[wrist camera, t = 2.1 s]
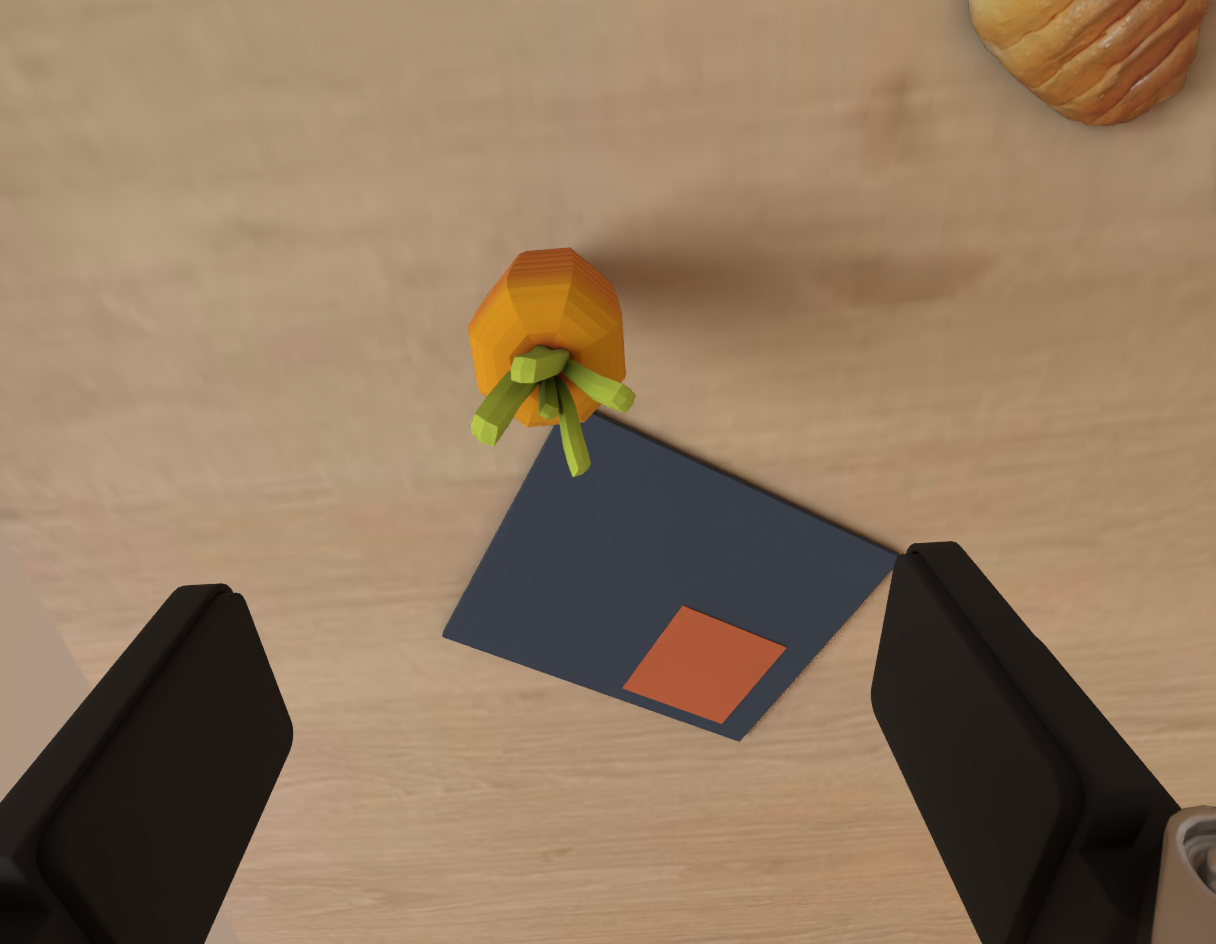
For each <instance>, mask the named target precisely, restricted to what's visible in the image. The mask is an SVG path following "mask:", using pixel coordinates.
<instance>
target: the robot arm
mask: <svg viewBox="0 0 1216 944" xmlns="http://www.w3.org/2000/svg"><path fill="white" fill-rule="evenodd" d="M871 702H872V707H873V711H874V714H875V716H876V719H877V721H878V723H879V725H880V727H881V729H882V731H883V733H884V736H885V738H886V740H887V742H888V744H889V746H890V748H891V751H892V753H893V755H894V757H895V759H896V761H897V763H898V765H899V768H900V770H901V772H902V774H903V776H904V778H905V780H906V783H907V785H908V787H909V789H910V791H911V793H912V795H913V798H914V800H915V802H916V804H917V806H918V808H919V810H920V812H921V815H922V817H923V819H924V821H925V823H926V825H927V827H928V830H929V832H930V834H931V836H932V838H933V840H934V842H935V844H936V847H937V849H938V851H939V853H940V855H941V857H942V859H943V862H944V864H945V866H946V868H947V870H948V872H949V874H950V876H951V879H952V881H953V883H954V885H955V887H956V889H957V891H958V894H959V896H960V898H961V900H962V902H963V904H964V906H965V908H966V911H967V913H968V915H969V917H970V919H971V921H972V923H973V926H974V928H975V930H976V932H977V934H978V936H979V938H980V940H981V942H982V944H1216V807H1214V806H1206V805H1202V806H1195V807H1188V808H1183V809H1181V808H1180V806H1179V805H1178V804H1177V803H1176V802H1175V800H1174V799H1173V798H1172V797H1171V796H1170V794H1169V793H1168V792H1167V791H1166V790H1165V788H1164V787H1163V786H1162V785H1161V784H1160V782H1159V781H1158V780H1157V779H1156V778H1155V776H1154V775H1153V774H1152V773H1151V772H1150V770H1149V769H1148V768H1147V767H1146V766H1145V764H1144V763H1143V762H1142V761H1141V760H1140V758H1139V757H1138V756H1137V755H1136V754H1135V752H1134V751H1133V750H1132V749H1131V748H1130V746H1129V745H1128V744H1127V743H1126V742H1125V741H1124V739H1123V738H1122V737H1121V736H1120V735H1119V733H1118V732H1117V731H1116V730H1115V729H1114V727H1113V726H1112V725H1111V724H1110V723H1109V721H1108V720H1107V719H1106V718H1105V717H1104V715H1103V714H1102V713H1101V712H1100V711H1099V709H1098V708H1097V707H1096V706H1095V705H1094V703H1093V702H1092V701H1091V700H1090V699H1089V697H1088V696H1087V695H1086V694H1085V693H1084V691H1083V690H1082V689H1081V688H1080V687H1079V685H1078V684H1077V683H1076V682H1075V681H1074V679H1073V678H1072V677H1071V676H1070V675H1069V673H1068V672H1067V671H1066V670H1065V669H1064V667H1063V666H1062V665H1061V664H1060V663H1059V661H1058V660H1057V659H1056V658H1055V657H1054V655H1053V654H1052V653H1051V652H1050V651H1049V649H1048V648H1047V647H1046V646H1045V645H1044V644H1043V642H1041V641H1040V640H1039V639H1038V638H1037V637H1036V636H1035V635H1034V634H1033V633H1032V632H1031V630H1030V629H1029V628H1028V627H1027V626H1026V624H1025V623H1024V622H1023V621H1022V619H1021V618H1020V617H1019V616H1018V615H1017V613H1016V612H1015V611H1014V610H1013V609H1012V607H1011V606H1010V605H1009V604H1008V603H1007V601H1006V600H1005V599H1004V598H1003V597H1002V595H1001V594H1000V593H999V592H998V591H997V589H996V588H995V587H994V586H993V585H992V583H991V582H990V581H989V580H988V579H987V577H986V576H985V575H984V574H983V573H982V571H981V570H980V569H979V568H978V567H977V565H976V564H975V563H974V562H973V561H972V559H971V558H970V557H969V556H968V555H967V553H966V552H965V551H964V550H963V549H962V547H961V546H960V545H958V544H957V543H956V542H952V541H948V542H930V543H914V544H912V545H910V547H909V548H908V550H907V553H906V554H901V555H898V556H897V558H896V560H895V563H894V569H893V574H892V579H891V585H890V590H889V595H888V601H887V606H886V612H885V617H884V622H883V628H882V633H881V638H880V644H879V649H878V655H877V660H876V665H875V671H874V676H873V681H872V687H871ZM292 741H293V726H292V722H291V719H290V716H289V714H288V711H287V709H286V706H285V703H284V701H283V698H282V695H281V693H280V690H279V688H278V685H277V682H276V680H275V677H274V674H273V672H272V669H271V667H270V664H269V661H268V659H267V656H266V653H265V651H264V648H263V646H262V643H261V640H260V638H259V635H258V632H257V630H256V627H255V625H254V622H253V619H252V617H251V614H250V611H249V609H248V606H247V604H246V601H245V599H244V597H243V596H242V595H241V594H239V593H233V591H232V589H231V588H230V587H229V586H228V585H226V584H222V583H221V584H203V585H186V586H181V587H178V588H177V589H176V590H175V591H174V592H173V593H172V594H171V595H170V596H169V598H168V599H167V600H166V601H165V602H164V604H163V605H162V606H161V607H160V609H159V610H158V611H157V612H156V613H155V615H154V616H153V617H152V618H151V620H150V621H149V622H148V623H147V624H146V626H145V627H144V628H143V629H142V631H141V632H140V633H139V634H138V635H137V637H136V638H135V639H134V640H133V642H132V643H131V644H130V645H129V646H128V648H127V649H126V650H125V651H124V652H123V654H122V655H121V656H120V657H119V659H118V660H117V661H116V662H115V663H114V665H113V666H112V667H111V668H110V670H109V671H108V672H107V673H106V674H105V676H104V677H103V678H102V679H101V681H100V682H99V683H98V684H97V685H96V687H95V688H94V689H93V690H92V692H91V693H90V694H89V695H88V696H87V698H86V699H85V700H84V701H83V702H82V704H81V705H80V706H79V707H78V709H77V710H76V711H75V712H74V713H73V715H72V716H71V717H70V718H69V720H68V721H67V722H66V723H65V725H64V726H63V727H62V728H61V729H60V731H59V732H58V733H57V734H56V736H55V737H54V738H53V739H52V740H51V742H50V743H49V744H48V745H47V747H46V748H45V749H44V750H43V751H42V753H41V754H40V755H39V756H38V757H37V759H36V760H35V761H34V762H33V764H32V765H31V766H30V767H29V768H28V770H27V771H26V772H25V773H24V774H23V776H22V777H21V778H20V779H19V781H18V782H17V783H16V784H15V785H14V787H13V788H12V789H11V790H10V792H9V793H8V794H7V795H6V796H5V798H4V799H3V800H2V801H1V803H0V944H204V943H205V941H206V938H207V936H208V934H209V932H210V929H211V927H212V925H213V923H214V920H215V918H216V916H217V913H218V911H219V909H220V907H221V905H222V902H223V900H224V898H225V896H226V893H227V891H228V889H229V887H230V884H231V882H232V880H233V878H234V875H235V873H236V871H237V869H238V866H239V864H240V862H241V860H242V857H243V855H244V853H245V851H246V848H247V846H248V844H249V842H250V840H251V837H252V835H253V833H254V831H255V828H256V826H257V824H258V822H259V819H260V817H261V815H262V813H263V810H264V808H265V806H266V804H267V801H268V799H269V797H270V795H271V792H272V790H273V788H274V786H275V783H276V781H277V779H278V777H279V774H280V772H281V770H282V768H283V765H284V763H285V761H286V759H287V756H288V754H289V752H290V749H291V746H292Z"/></svg>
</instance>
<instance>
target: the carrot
mask: <svg viewBox="0 0 1216 944" xmlns="http://www.w3.org/2000/svg"><path fill="white" fill-rule="evenodd" d="M468 333H469V339H470V344H471V350H472V356H473V361H474V367H475V373H476V379H477V384H478V390H479V392H480V393H481V394H483V395H484V396H485V397H486V399H485V400H484V401H483V403H482V404H481V406H480V407H479V409H478V410H477V411H476V413H475V415H474V418H473V420H472V423H471V431H472V434H473V435H474V436H475V437H476V438H477V439H478V440H479V441H480V442H481V443H484V444H487V445H490V446H493V447H494V446H495V444H496V443H497V441H498V440H499V439H500V437H501V436H502V434H503V433H504V431H505V430H506V428H507V427H508V425H509V424H510V422H511V420H512V419H513V417H514V418H515V419H517V420H518V421H520V422H521V423H522V424H524V425H525V426H526V427H533V426H546V425H558V424H560V430H561V436H562V442H563V448H564V452H565V455H566V459H567V463H568V466H569V468H570V471H571V474H572V476H573V477H575V476H579V475H582V474H583V473H584V472H585V471H587V470H588V469H589V467H590V464H591V462H590V458H589V454H588V450H587V447H586V443H585V440H584V437H583V433H582V429H581V425H580V423H583V422H585V421H586V420H587V419H588V418H589V417H590V416H591V415H592V413H593V412H594V411H595V410H596V409H597V408H598V407H599V406H600V405H601V404H603V405H605V406H607V407H609V408H611V409H613V410H615V411H619V412H624V413H626V412H627V411H628V409H629V408H630V407H631V406H632V405H633V402H634V399H635V397H636V395H635V394H634V392H633V391H632V390H631V389H630V388H628V387H627V386H625V385H623V384H622V383H621V382H622V381H623V380H624V378H625V374H626V371H625V355H624V340H623V324H622V312H621V309H620V305H619V301H618V298H617V295H616V293H615V290H614V288H613V285H612V284H611V283H610V282H609V281H608V280H607V279H606V278H605V277H604V276H603V275H601V274H600V273H599V272H598V271H597V270H596V269H594V268H593V267H592V266H591V265H590V264H589V263H588V262H586V261H585V260H584V259H583V258H582V257H581V256H579V255H578V254H577V253H576V252H575V251H574V250H572V249H571V248H559V249H547V250H535V251H526V252H523V253H521V254H519V255H518V257H517V258H516V259H515V260H514V262H513V263H512V264H511V266H510V267H509V268H508V269H507V271H506V272H505V273H504V274H503V276H502V277H501V278H500V280H499V281H498V282H497V283H496V285H495V286H494V287H493V289H492V290H491V291H490V292H489V294H488V295H487V297H486V298H485V299H484V301H483V302H482V304H481V305H480V307H479V308H478V310H477V312H476V313H475V315H474V317H473V319H472V321H471V322H470V324H469V326H468Z"/></svg>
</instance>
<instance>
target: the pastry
mask: <svg viewBox="0 0 1216 944" xmlns="http://www.w3.org/2000/svg"><path fill="white" fill-rule="evenodd" d="M968 1H969V11H970V16H971V21H972V24H973V26H974V28H975V30H976V32H977V34H978V35H979V37H980V39H981V40H982V42H983V44H984V46H985V48H986V49H987V50H988V51H990V52H991V53H992V54H993V55H994V56H996V57H997V58H998V59H999V61H1000V62H1001V64H1002V65H1003V66H1004V67H1006V68H1007V69H1008V70H1009V72H1010V73H1011V74H1012V75H1013V76H1014V77H1015V78H1016V79H1017V80H1018V81H1019V82H1021V83H1022V84H1023V85H1024V86H1026V87H1027V88H1028V89H1029V90H1030V91H1032V92H1033V93H1034V94H1035V95H1037V96H1038V97H1039V98H1041V99H1042V100H1043V101H1044V102H1046V103H1047V104H1048V105H1050V106H1051V107H1052V108H1053V109H1054V110H1055V111H1057V112H1058V113H1060V114H1061V115H1062V116H1064V117H1066V118H1067V119H1070V120H1074V121H1078V122H1081V123H1083V124H1085V125H1087V126H1095V125H1106V126H1107V125H1115V124H1119V123H1125V122H1128V121H1131V120H1132V119H1134V118H1136V117H1138V116H1139V115H1141V114H1143V113H1144V112H1146V111H1148V110H1149V109H1150V108H1152V107H1153V106H1154V105H1156V104H1157V103H1159V102H1162V101H1165V100H1166V99H1168V98H1170V97H1172V96H1173V95H1175V94H1176V93H1177V92H1178V91H1179V90H1181V89H1182V87H1183V84H1184V82H1185V80H1186V77H1187V72H1188V69H1189V66H1190V65H1191V63H1192V61H1193V60H1194V59H1195V56H1196V52H1197V43H1198V37H1199V30H1200V24H1201V21H1202V19H1203V17H1204V16H1205V15H1206V12H1207V9H1208V3H1207V0H968Z"/></svg>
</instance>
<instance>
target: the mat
mask: <svg viewBox="0 0 1216 944" xmlns="http://www.w3.org/2000/svg"><path fill="white" fill-rule="evenodd" d="M580 425H581V429H582V433H583V437H584V440H585V443H586V447H587V450H588V454H589V458H590V462H591V464H590V467H589V469H588V470H587V471H585V472H584V473H583V474H582V475H579V476H575V477H573V476H572V474H571V471H570V468H569V466H568V463H567V459H566V455H565V452H564V448H563V442H562V436H561V430H560V424H558V425H554V427H553V429H552V431H551V432H550V434H549V436H548V438H547V440H546V442H545V444H544V445H543V447H542V449H541V451H540V453H539V455H538V457H537V458H536V460H535V462H534V464H533V466H532V468H531V470H530V471H529V473H528V475H527V477H526V479H525V481H524V483H523V484H522V486H521V488H520V490H519V492H518V494H517V496H516V497H515V499H514V501H513V503H512V505H511V507H510V509H509V510H508V512H507V514H506V516H505V518H504V520H503V521H502V523H501V525H500V527H499V529H498V531H497V533H496V534H495V536H494V538H493V540H492V542H491V544H490V546H489V547H488V549H487V551H486V553H485V555H484V557H483V559H482V560H481V562H480V564H479V566H478V568H477V570H476V572H475V573H474V575H473V577H472V579H471V581H470V583H469V585H468V586H467V588H466V590H465V592H464V594H463V596H462V598H461V599H460V601H459V603H458V605H457V607H456V609H455V611H454V612H453V614H452V616H451V618H450V620H449V622H448V624H447V625H446V627H445V629H444V631H443V635H442V637H444V638H447V639H450V640H453V641H456V642H458V643H461V644H464V645H467V646H470V647H473V648H475V649H478V650H481V651H484V652H487V653H490V654H492V655H495V656H498V657H501V658H504V659H507V660H509V661H512V662H515V663H518V664H521V665H524V666H526V667H529V668H532V669H535V670H538V671H541V672H543V673H546V674H549V675H552V676H555V677H558V678H560V679H563V680H566V681H569V682H572V683H575V684H577V685H580V686H583V687H586V688H589V689H592V690H594V691H597V692H600V693H603V694H606V695H609V696H611V697H614V698H617V699H620V700H623V701H626V702H628V703H631V704H634V705H637V706H640V707H643V708H645V709H648V710H651V711H654V712H657V713H660V714H662V715H665V716H668V717H671V718H674V719H677V720H679V721H682V722H685V723H688V724H691V725H694V726H696V727H699V728H702V729H705V730H708V731H711V732H713V733H716V734H719V735H722V736H725V737H728V738H730V739H733V740H736V741H741V740H742V738H743V737H744V736H745V735H746V734H747V733H748V732H749V730H750V729H751V728H752V727H753V726H754V725H755V724H756V723H757V721H758V720H759V719H760V718H761V717H762V716H763V715H764V714H765V712H766V711H767V710H768V709H769V708H770V707H771V706H772V704H773V703H774V702H775V701H776V700H777V699H778V698H779V697H780V695H781V694H782V693H783V692H784V691H785V690H786V689H787V688H788V686H789V685H790V684H791V683H792V682H793V681H794V680H795V678H796V677H797V676H798V675H799V674H800V673H801V672H802V671H803V669H804V668H805V667H806V666H807V665H808V664H809V663H810V662H811V660H812V659H813V658H814V657H815V656H816V655H817V654H818V652H819V651H820V650H821V649H822V648H823V647H824V646H825V645H826V643H827V642H828V641H829V640H830V639H831V638H832V637H833V636H834V634H835V633H836V632H837V631H838V630H839V629H840V628H841V626H842V625H843V624H844V623H845V622H846V621H847V620H848V619H849V617H850V616H851V615H852V614H853V613H854V612H855V611H856V610H857V608H858V607H859V606H860V605H861V604H862V603H863V602H864V600H865V599H866V598H867V597H868V596H869V595H870V594H871V593H872V591H873V590H874V589H875V588H876V587H877V586H878V585H879V584H880V582H881V581H882V580H883V579H884V578H885V577H886V576H887V574H888V573H889V572H890V571H891V570H892V569H893V568H894V563H895V560H896V558H897V556H898V555H899V554H898V553H897V552H894V551H892V550H890V549H888V548H886V547H884V546H882V545H879V544H877V543H875V542H873V541H871V540H869V539H867V538H864V537H862V536H860V535H858V534H856V533H854V532H852V531H850V530H847V529H845V528H843V527H841V526H839V525H837V524H835V523H832V522H830V521H828V520H826V519H824V518H822V517H820V516H818V515H815V514H813V513H811V512H809V511H807V510H805V509H803V508H800V507H798V506H796V505H794V504H792V503H790V502H788V501H786V500H783V499H781V498H779V497H777V496H775V495H773V494H771V493H768V492H766V491H764V490H762V489H760V488H758V487H756V486H754V485H751V484H749V483H747V482H745V481H743V480H741V479H739V478H736V477H734V476H732V475H730V474H728V473H726V472H724V471H722V470H719V469H717V468H715V467H713V466H711V465H709V464H707V463H704V462H702V461H700V460H698V459H696V458H694V457H692V456H690V455H687V454H685V453H683V452H681V451H679V450H677V449H675V448H672V447H670V446H668V445H666V444H664V443H662V442H660V441H657V440H655V439H653V438H651V437H649V436H647V435H645V434H643V433H640V432H638V431H636V430H634V429H632V428H630V427H628V426H625V425H623V424H621V423H619V422H617V421H615V420H613V419H611V418H608V417H606V416H604V415H602V414H600V413H598V412H596V411H594V412H593V413H592V415H591V416H590V417H589V418H588V419H587V420H586V421H585V422H583V423H580Z"/></svg>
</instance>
